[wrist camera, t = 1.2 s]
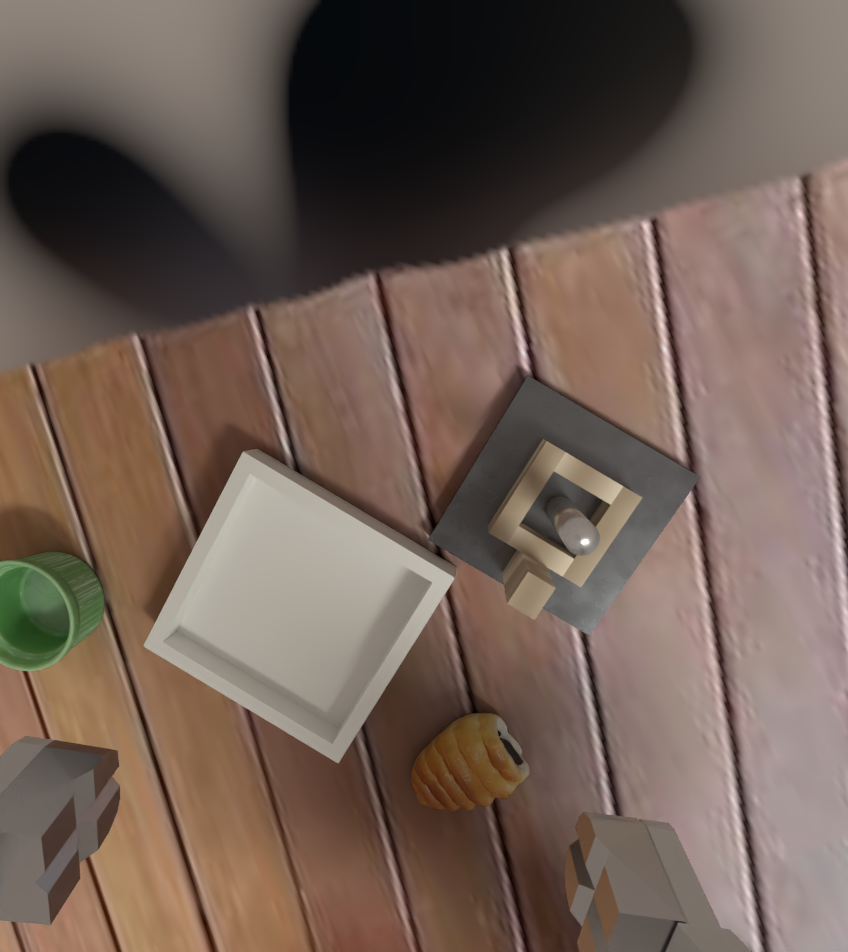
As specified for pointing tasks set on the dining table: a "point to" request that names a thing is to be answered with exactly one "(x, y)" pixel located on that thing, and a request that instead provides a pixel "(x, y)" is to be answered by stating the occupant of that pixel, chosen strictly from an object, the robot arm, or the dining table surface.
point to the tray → (298, 604)
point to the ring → (536, 552)
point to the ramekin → (46, 608)
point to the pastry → (469, 764)
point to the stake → (563, 499)
